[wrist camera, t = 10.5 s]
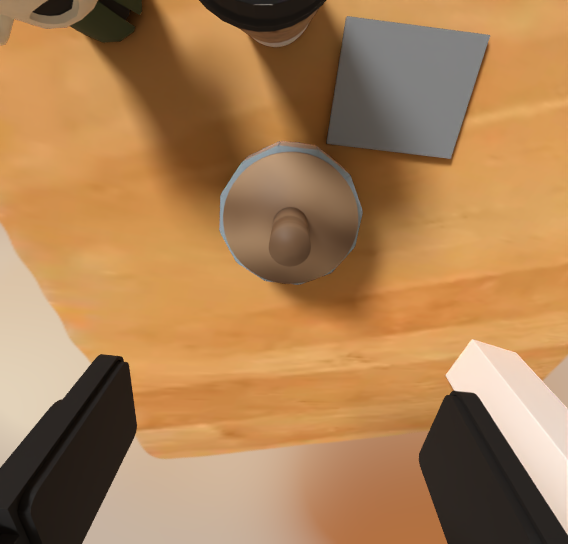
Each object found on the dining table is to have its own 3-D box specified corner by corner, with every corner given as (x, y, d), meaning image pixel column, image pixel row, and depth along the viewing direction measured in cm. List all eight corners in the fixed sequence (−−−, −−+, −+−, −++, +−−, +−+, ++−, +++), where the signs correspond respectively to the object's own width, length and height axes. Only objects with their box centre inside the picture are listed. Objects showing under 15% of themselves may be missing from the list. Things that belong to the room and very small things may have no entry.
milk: (444, 374, 40) (586, 626, 21) (471, 337, 38) (664, 584, 18) (487, 387, 41) (665, 643, 21) (517, 351, 39) (751, 605, 19)
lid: (342, 284, 30) (353, 323, 24) (223, 271, 29) (207, 307, 24) (369, 160, 25) (390, 173, 19) (227, 143, 25) (208, 152, 19)
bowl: (362, 150, 29) (374, 156, 25) (338, 266, 34) (345, 289, 30) (233, 134, 29) (221, 138, 24) (228, 254, 34) (218, 275, 29)
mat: (486, 36, 25) (490, 35, 25) (447, 157, 29) (450, 158, 29) (345, 18, 25) (347, 16, 25) (326, 143, 29) (327, 143, 28)
